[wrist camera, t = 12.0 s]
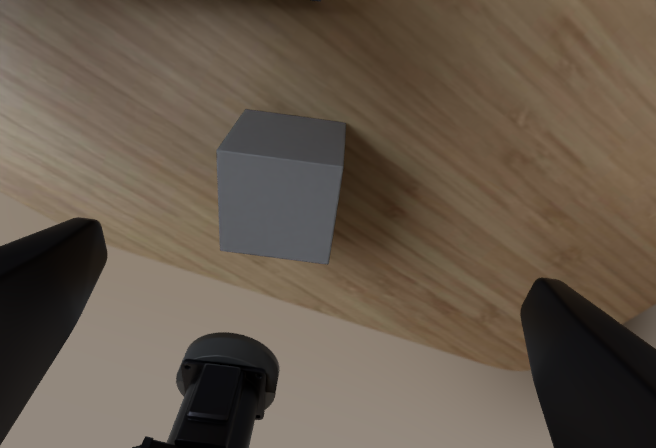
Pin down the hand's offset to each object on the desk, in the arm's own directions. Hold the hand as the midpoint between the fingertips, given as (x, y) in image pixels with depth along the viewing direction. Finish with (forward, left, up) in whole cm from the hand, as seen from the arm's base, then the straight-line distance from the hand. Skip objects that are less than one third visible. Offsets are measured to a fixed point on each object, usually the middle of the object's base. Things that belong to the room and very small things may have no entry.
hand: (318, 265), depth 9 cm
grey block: (-4, +2, -13) cm, 14 cm away
